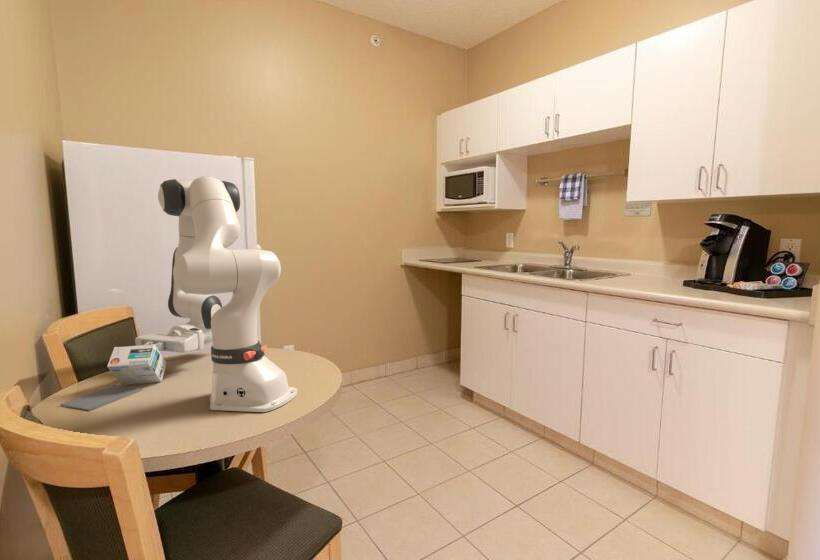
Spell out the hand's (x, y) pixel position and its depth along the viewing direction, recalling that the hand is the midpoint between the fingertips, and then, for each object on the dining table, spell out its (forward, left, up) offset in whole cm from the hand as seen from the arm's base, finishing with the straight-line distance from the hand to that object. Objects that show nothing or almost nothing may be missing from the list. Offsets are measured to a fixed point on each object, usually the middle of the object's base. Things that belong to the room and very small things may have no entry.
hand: (143, 349), depth 120 cm
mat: (-1, +13, -10) cm, 16 cm away
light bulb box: (0, 0, -8) cm, 8 cm away
